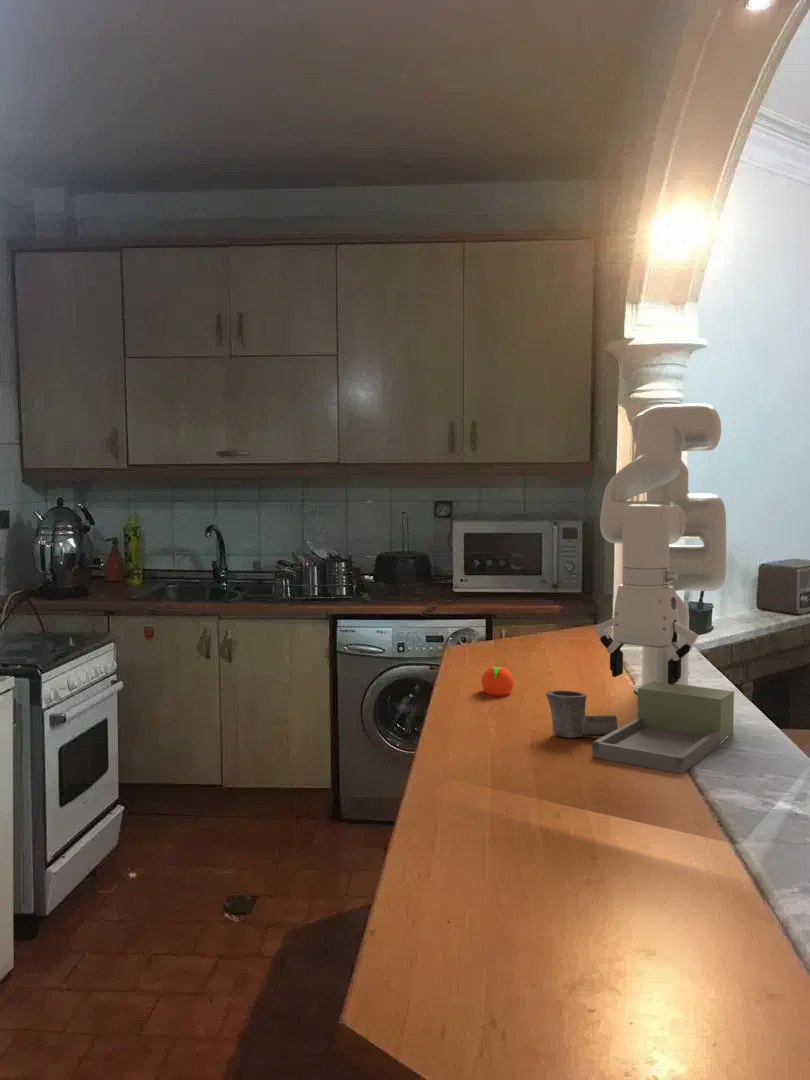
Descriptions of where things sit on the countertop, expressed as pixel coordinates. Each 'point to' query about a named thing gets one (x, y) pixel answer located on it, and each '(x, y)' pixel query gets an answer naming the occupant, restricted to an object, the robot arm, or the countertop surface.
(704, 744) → the gray tray
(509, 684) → the clementine
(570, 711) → the pipe
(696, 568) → the robot arm
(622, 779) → the countertop surface
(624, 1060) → the countertop surface
